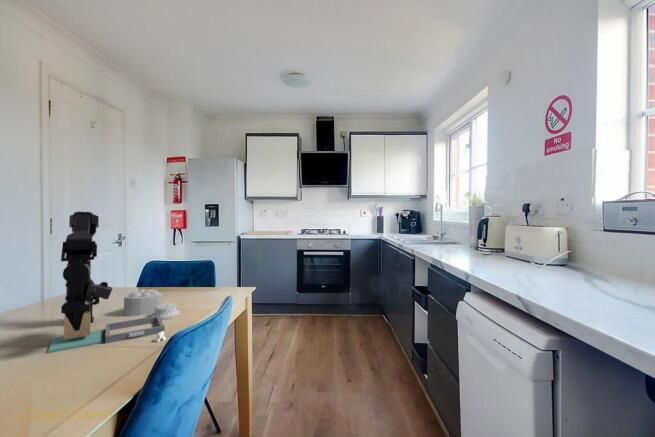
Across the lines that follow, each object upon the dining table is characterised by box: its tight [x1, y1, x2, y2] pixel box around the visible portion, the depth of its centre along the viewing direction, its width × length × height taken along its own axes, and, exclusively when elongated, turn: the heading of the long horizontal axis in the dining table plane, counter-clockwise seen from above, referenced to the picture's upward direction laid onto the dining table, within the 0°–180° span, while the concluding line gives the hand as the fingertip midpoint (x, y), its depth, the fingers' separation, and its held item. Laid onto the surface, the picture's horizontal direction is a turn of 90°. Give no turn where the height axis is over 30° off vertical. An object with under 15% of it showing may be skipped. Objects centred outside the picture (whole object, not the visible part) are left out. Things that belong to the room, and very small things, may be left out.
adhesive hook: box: [153, 331, 166, 343], centre depth 93 cm, size 3×3×3 cm
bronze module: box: [63, 309, 92, 339], centre depth 92 cm, size 4×6×8 cm
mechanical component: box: [150, 302, 181, 321], centre depth 118 cm, size 10×4×10 cm
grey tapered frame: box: [104, 316, 166, 344], centre depth 101 cm, size 15×16×2 cm
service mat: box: [47, 329, 103, 354], centre depth 92 cm, size 12×12×1 cm
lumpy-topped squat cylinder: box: [123, 288, 163, 317], centre depth 123 cm, size 10×13×9 cm
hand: (77, 328), depth 92 cm, fingers closed on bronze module, 4 cm apart
